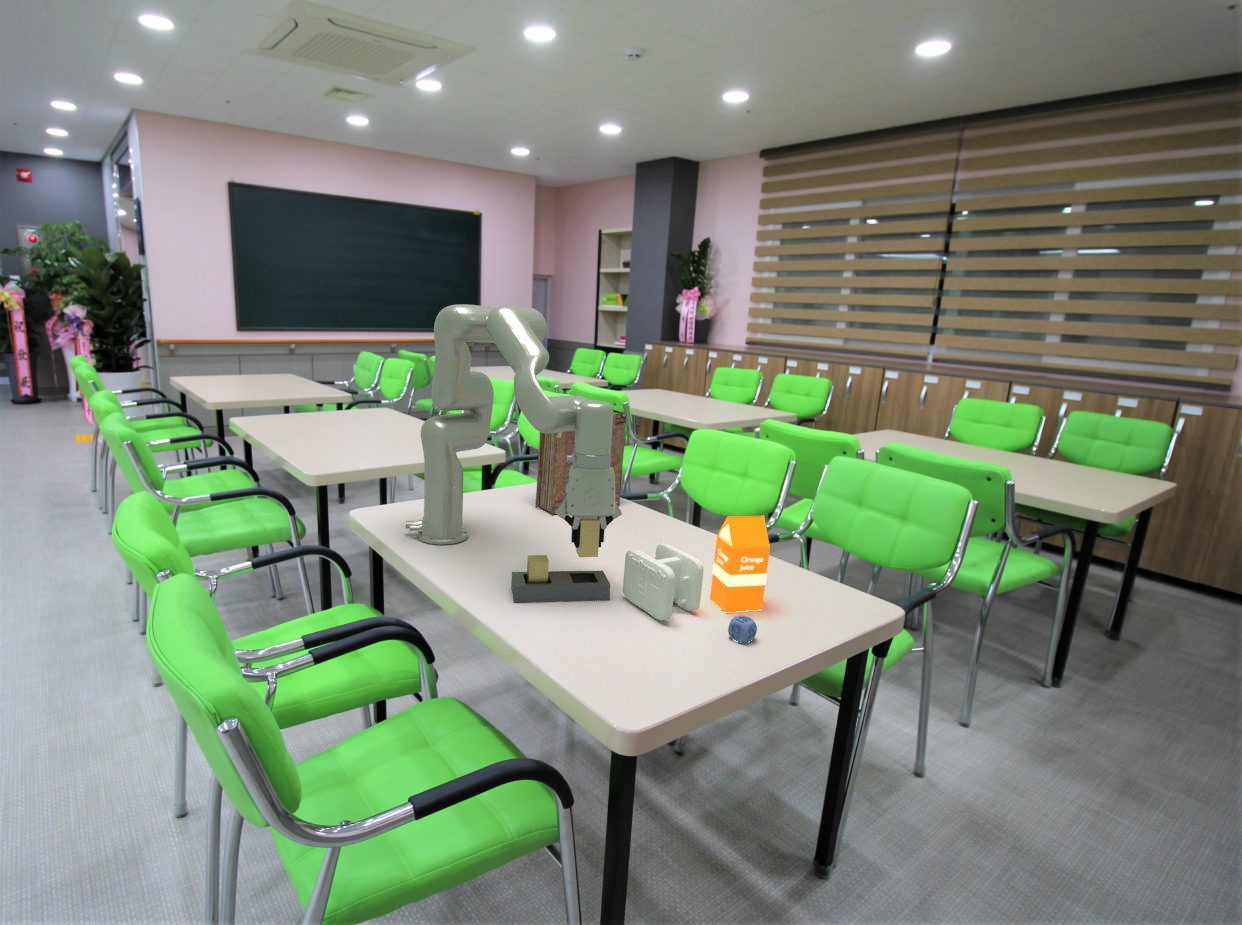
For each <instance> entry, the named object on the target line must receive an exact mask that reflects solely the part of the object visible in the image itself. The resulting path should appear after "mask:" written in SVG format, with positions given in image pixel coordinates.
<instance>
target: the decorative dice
mask: <svg viewBox="0 0 1242 925" xmlns="http://www.w3.org/2000/svg"><path fill="white" fill-rule="evenodd" d="M757 630H758V625H757V623H756V622H755V620H754V619H753V618H751V617H749V616H748V615H747V616H746V615H735V616H734V617H733V618H731V620H730V621H729V625H728V630H727V632H728V635H729V637H730V639H734V640H736V641H738V642H741V643H740V644H742V643H747V644H749V643H748V642H749V641H751V640H752V641H754V639H755V637H756V636H757Z"/></svg>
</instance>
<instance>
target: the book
mask: <svg viewBox="0 0 1242 925" xmlns="http://www.w3.org/2000/svg"><path fill="white" fill-rule="evenodd" d="M627 417H628V415H627V413H626V412H623V411H619V410H616V409H613V424H612V441H611V457H610V467H612V468H613V469H614V475H615V502H616V504H617V505H618V507H620V504H621V503H620V502H621V488H622V479H623V478H622V476H623V462H624V452H625V451H624V449H625V442H626V441H625V439H626V438H625V437H626V427H627V426H626V425H627ZM538 438H539V439H538V441H539V442H538V454H537V456H538V458H537V476H536V477H537V478H536V491H535V492H536V493H535V509H538V508H537V507H541V508H540V509H543V510H545V511H547V512H549V513H550V515H551V516H553V517H554V515H556V516H558V515H557V514H556V510H557V509H558V508H559V506H560V505H561V504H562V502H563V501H564V499H565V494H566V486H567V480H568V474H569V470H570V467H571V466H572V465H574V464H573V463H572V462H571V461H567V455H571V454H573V453H574V447H575V431H569V432H559V433H552V434H545V433H541V432H539V437H538ZM565 513H566V514H568V512H567V509H566V510H565ZM568 515H569V514H568Z"/></svg>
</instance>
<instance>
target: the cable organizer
mask: <svg viewBox="0 0 1242 925" xmlns="http://www.w3.org/2000/svg"><path fill="white" fill-rule="evenodd" d="M624 556H625V558H624V559H625V560H624V568H623V570H624V571H623V580H622V581H623V583H622V592H623V595H624V597H625V599H627V600H628V601H629V602H630V603H631V602H632V603H631V604H633V605H634V604H635V605H634V606H636V607H637V606H638V607H637V608H640V609H642V610H643V611H644V612H646V613H648V615H649V614H650V615H649V616H651V617H652V616H653V617H652V618H654V619H655V618H656V619H655V620H657V619H658V621H664V620H669V619H670V618H671V617H672V615H673V607H674V603H676V604H677V608H679V606H680V608H681V609H682V608H683V610H684V611H685V610H686V612H692V611H696V610H699V608H700V606H701V598H702V590H703V589H702V588H703V581H704V580H703V579H704V577H703V576H704V570H705V569H704V565H703V563H702V561H701V560H699V559H698V558H697V557H694V556H692V555H690V554H689V553H686V552H684V551H683V550H680V549H679V548H677V547H675V546H673V545H671V544H669V543H660V544H658V545H657V546H656V548H655V558H654V557H652V556H650V555H648V554H646V553H645V552H643V551H641V550H639V549H636V548H635V549H630V550H628V551H626V552H625V555H624Z"/></svg>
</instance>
